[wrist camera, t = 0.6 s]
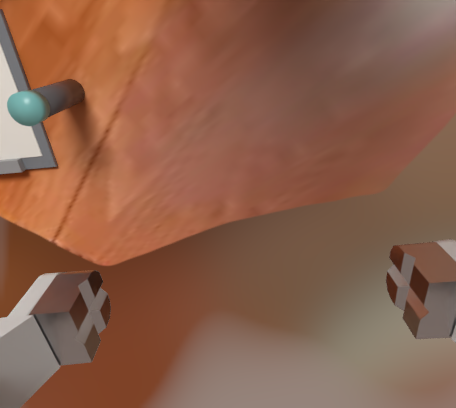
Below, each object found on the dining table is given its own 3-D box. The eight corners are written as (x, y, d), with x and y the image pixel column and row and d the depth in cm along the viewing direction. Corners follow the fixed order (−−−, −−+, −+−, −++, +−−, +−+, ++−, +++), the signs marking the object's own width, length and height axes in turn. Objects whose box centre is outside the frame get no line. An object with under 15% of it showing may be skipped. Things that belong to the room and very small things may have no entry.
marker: (56, 79, 47) (1, 94, 36) (81, 77, 47) (34, 90, 35) (64, 105, 49) (14, 127, 37) (88, 103, 48) (46, 124, 37)
